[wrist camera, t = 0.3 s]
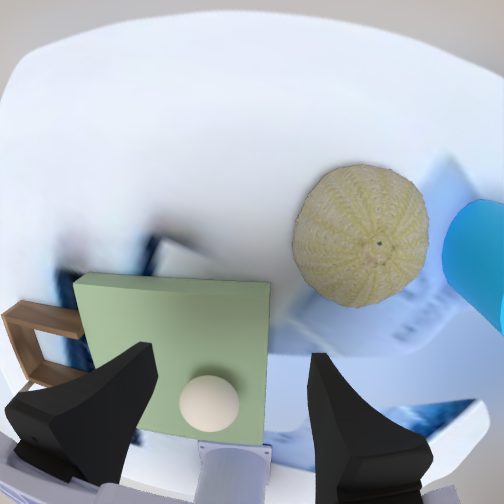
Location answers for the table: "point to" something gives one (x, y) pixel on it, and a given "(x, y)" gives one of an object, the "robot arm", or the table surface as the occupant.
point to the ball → (209, 403)
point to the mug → (478, 258)
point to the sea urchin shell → (361, 235)
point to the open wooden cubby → (27, 348)
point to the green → (184, 342)
